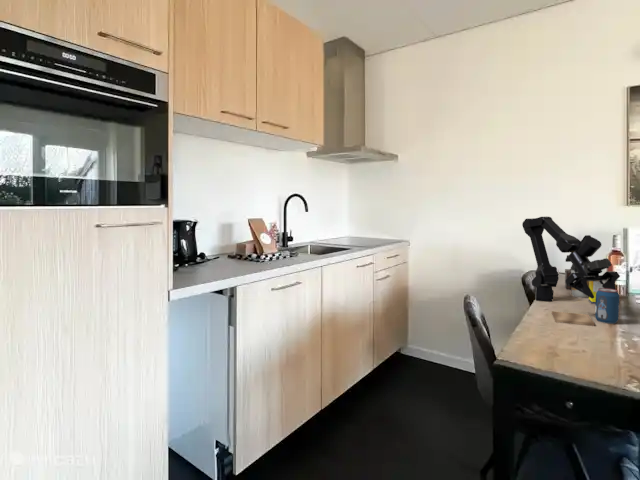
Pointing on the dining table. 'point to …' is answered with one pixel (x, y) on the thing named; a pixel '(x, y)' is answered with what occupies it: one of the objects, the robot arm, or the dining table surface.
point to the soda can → (607, 305)
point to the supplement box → (594, 289)
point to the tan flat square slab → (572, 318)
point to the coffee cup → (574, 291)
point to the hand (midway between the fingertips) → (604, 297)
